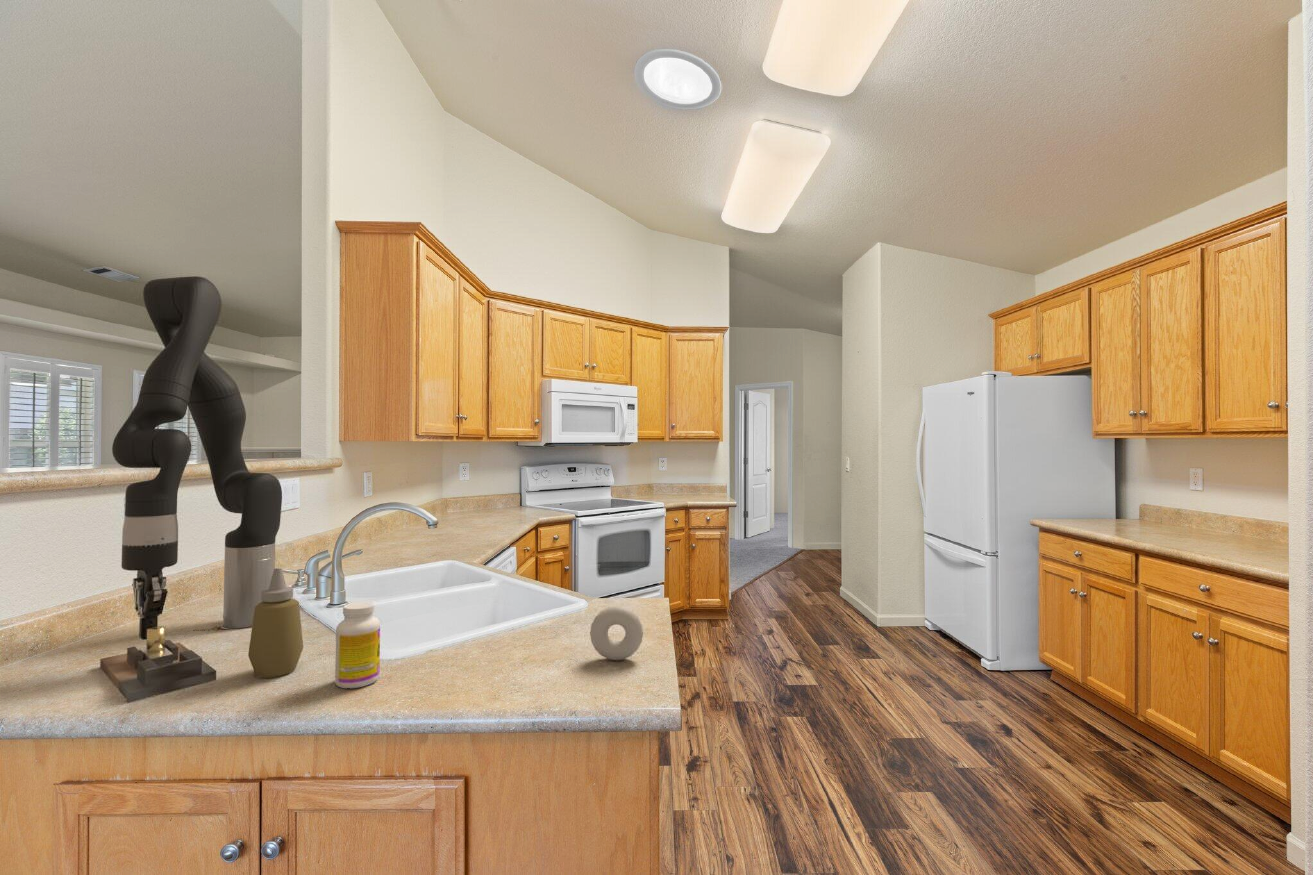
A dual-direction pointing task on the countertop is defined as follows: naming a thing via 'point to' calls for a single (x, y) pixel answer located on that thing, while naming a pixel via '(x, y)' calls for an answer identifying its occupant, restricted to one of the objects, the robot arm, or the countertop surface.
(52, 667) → the countertop surface
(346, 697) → the countertop surface
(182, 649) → the door board
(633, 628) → the donut
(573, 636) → the countertop surface
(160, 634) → the lock bolt
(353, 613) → the supplement bottle
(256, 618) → the squeeze bottle
